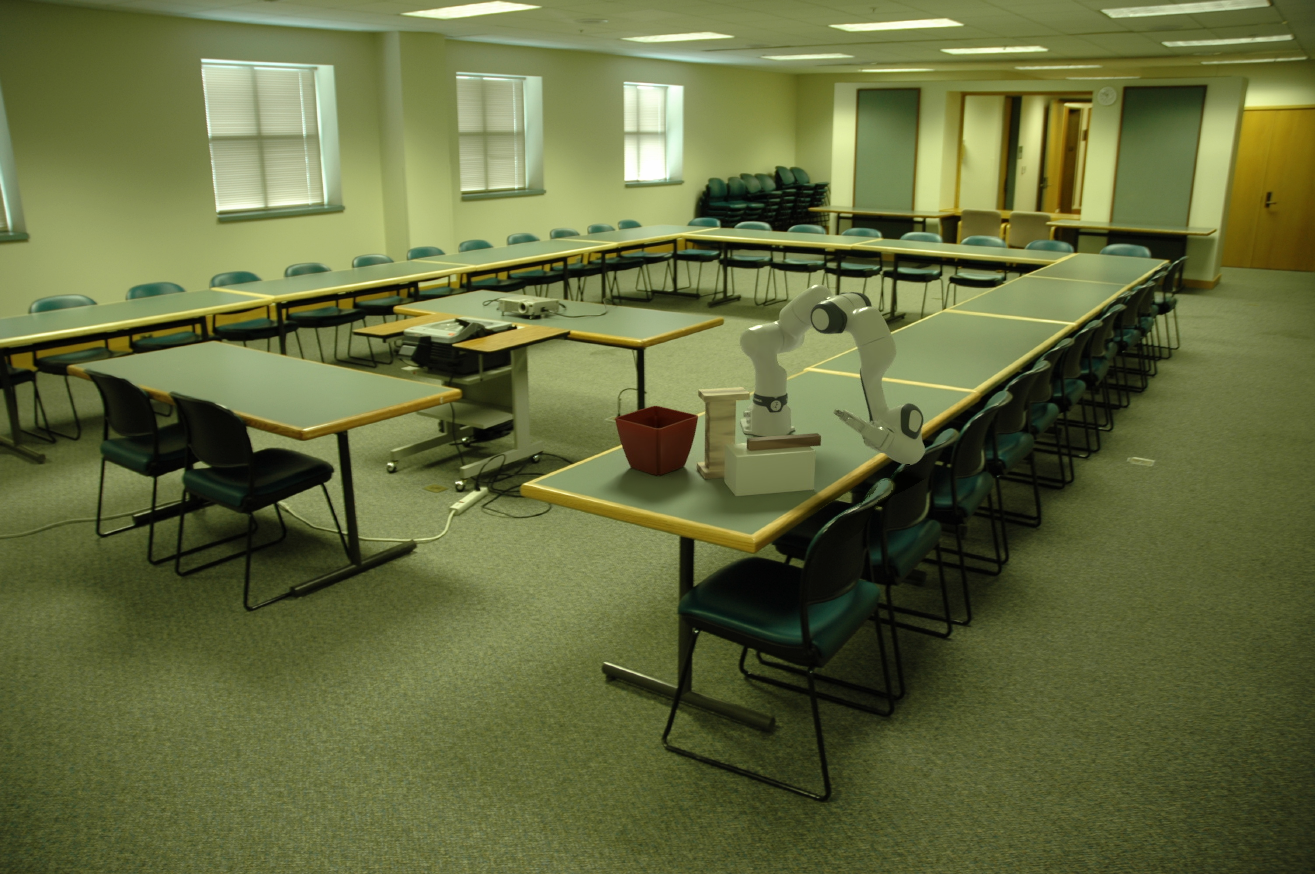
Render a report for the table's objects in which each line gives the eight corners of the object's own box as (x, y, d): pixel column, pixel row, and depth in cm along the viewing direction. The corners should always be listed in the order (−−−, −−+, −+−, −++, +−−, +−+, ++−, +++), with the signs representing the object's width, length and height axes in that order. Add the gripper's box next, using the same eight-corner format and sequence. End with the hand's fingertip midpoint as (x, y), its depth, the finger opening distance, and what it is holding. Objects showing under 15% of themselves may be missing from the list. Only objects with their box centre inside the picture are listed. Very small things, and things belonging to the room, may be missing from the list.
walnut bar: (746, 447, 272) (746, 438, 271) (816, 442, 276) (817, 433, 275) (749, 450, 269) (749, 441, 268) (820, 445, 273) (821, 436, 272)
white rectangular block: (724, 482, 278) (725, 444, 275) (799, 476, 283) (800, 438, 279) (735, 496, 267) (736, 457, 263) (813, 489, 272) (815, 451, 268)
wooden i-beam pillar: (696, 468, 290) (697, 388, 282) (739, 464, 293) (741, 386, 285) (705, 479, 281) (705, 396, 273) (748, 475, 284) (750, 394, 276)
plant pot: (614, 468, 291) (613, 417, 286) (655, 453, 305) (655, 404, 299) (658, 482, 279) (658, 429, 274) (699, 466, 292) (699, 415, 287)
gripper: (868, 416, 287) (833, 397, 282) (897, 435, 268) (860, 415, 263) (857, 433, 288) (822, 415, 283) (886, 454, 269) (849, 434, 264)
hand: (841, 415), depth 273 cm, fingers open, 8 cm apart
